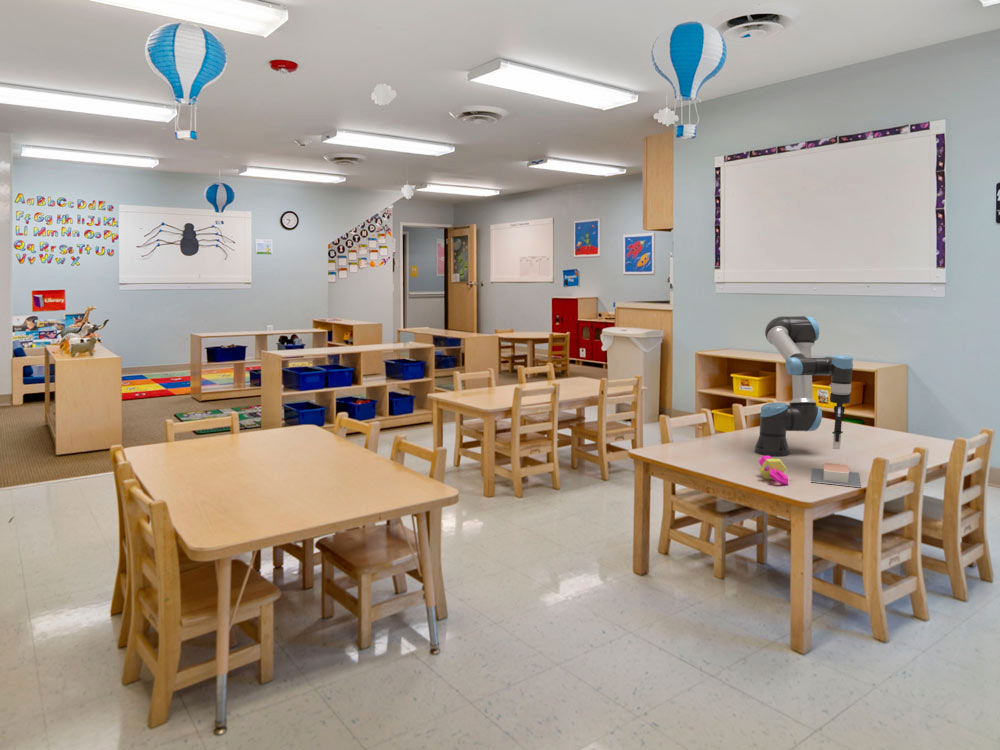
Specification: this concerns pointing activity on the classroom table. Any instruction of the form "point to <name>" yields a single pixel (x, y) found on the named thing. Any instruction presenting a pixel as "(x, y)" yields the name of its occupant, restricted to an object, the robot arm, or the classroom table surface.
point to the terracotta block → (836, 472)
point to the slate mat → (818, 477)
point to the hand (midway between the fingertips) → (836, 448)
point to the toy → (773, 469)
